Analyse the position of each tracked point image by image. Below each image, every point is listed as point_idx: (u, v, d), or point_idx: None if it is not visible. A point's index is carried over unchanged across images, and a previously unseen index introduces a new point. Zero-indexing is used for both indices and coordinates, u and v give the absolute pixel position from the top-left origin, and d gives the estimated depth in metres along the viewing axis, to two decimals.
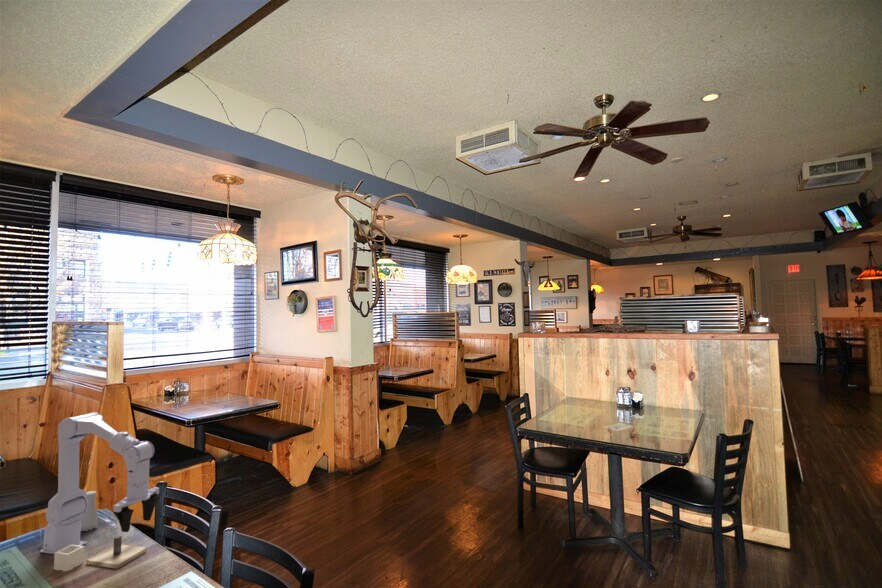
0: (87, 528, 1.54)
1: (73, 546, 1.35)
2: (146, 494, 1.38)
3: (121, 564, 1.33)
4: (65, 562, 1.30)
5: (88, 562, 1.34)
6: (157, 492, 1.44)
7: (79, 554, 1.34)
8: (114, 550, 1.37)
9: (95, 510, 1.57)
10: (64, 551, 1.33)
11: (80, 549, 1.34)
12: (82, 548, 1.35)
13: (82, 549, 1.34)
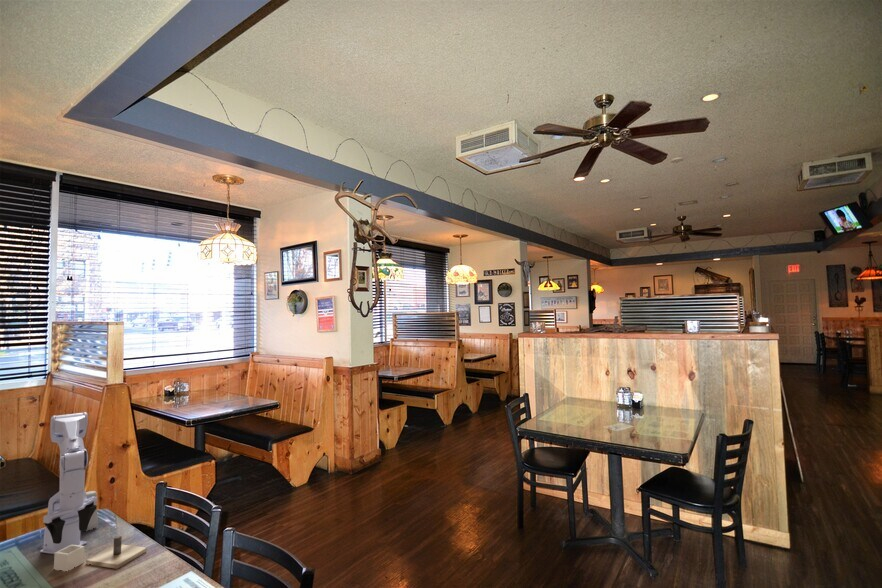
0: (87, 528, 1.54)
1: (73, 546, 1.35)
2: (80, 504, 1.34)
3: (121, 564, 1.33)
4: (65, 562, 1.30)
5: (88, 562, 1.34)
6: (95, 501, 1.40)
7: (79, 554, 1.34)
8: (114, 550, 1.37)
9: (95, 510, 1.57)
10: (64, 551, 1.33)
11: (80, 549, 1.34)
12: (82, 548, 1.35)
13: (82, 549, 1.34)
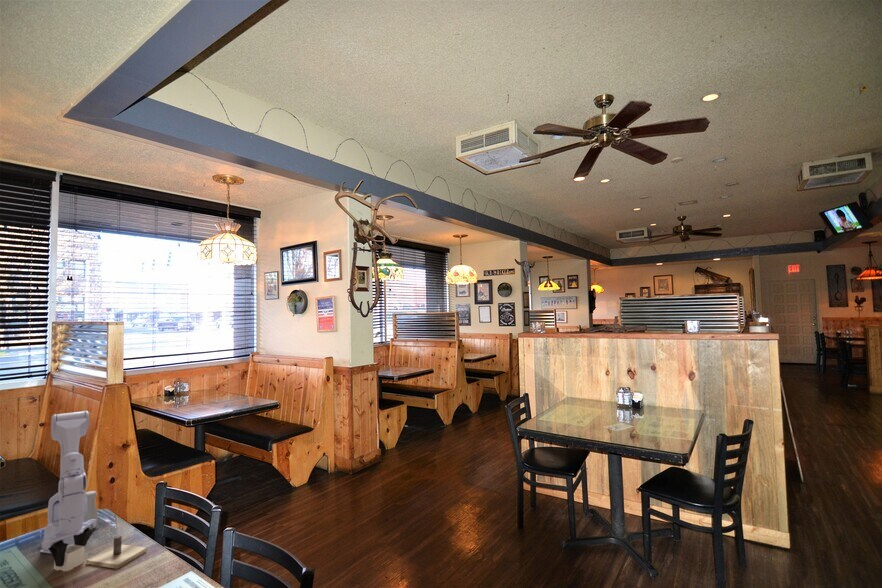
0: None
1: (73, 546, 1.35)
2: (79, 528, 1.34)
3: (121, 564, 1.33)
4: (65, 562, 1.30)
5: (88, 562, 1.34)
6: (94, 524, 1.40)
7: (79, 554, 1.34)
8: (114, 550, 1.37)
9: (95, 510, 1.57)
10: None
11: (80, 549, 1.34)
12: (82, 548, 1.35)
13: (82, 549, 1.34)
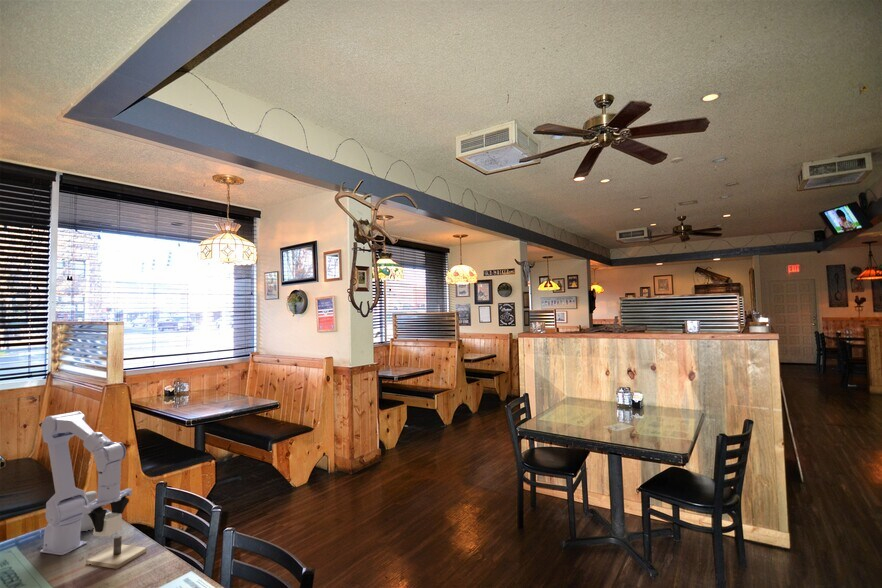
0: (87, 528, 1.54)
1: (111, 514, 1.39)
2: (117, 495, 1.38)
3: (121, 564, 1.33)
4: (104, 528, 1.34)
5: (88, 562, 1.34)
6: (130, 493, 1.44)
7: (117, 521, 1.38)
8: (114, 550, 1.37)
9: None
10: None
11: (118, 516, 1.38)
12: (120, 515, 1.38)
13: (120, 516, 1.38)
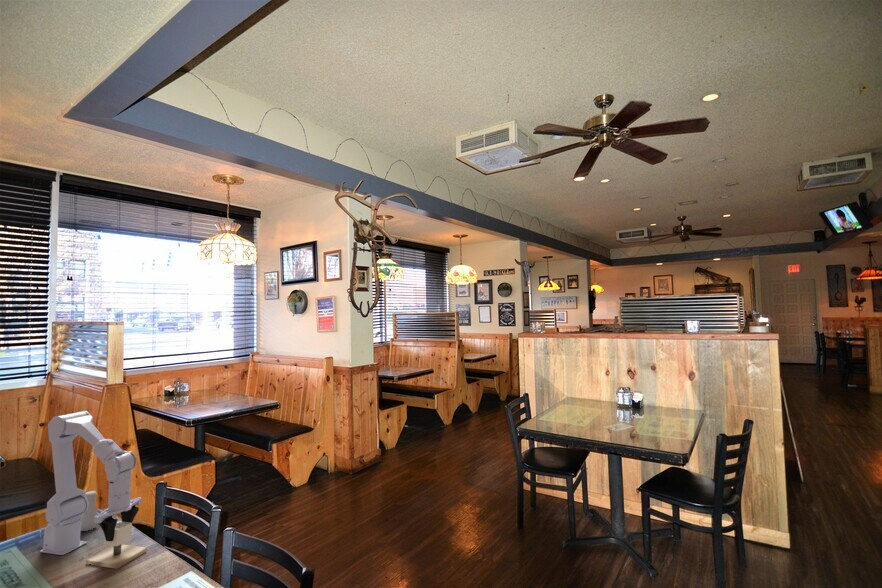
0: (87, 528, 1.54)
1: (121, 523, 1.40)
2: (127, 505, 1.39)
3: (121, 564, 1.33)
4: (115, 537, 1.35)
5: (88, 562, 1.34)
6: (139, 502, 1.45)
7: (127, 530, 1.39)
8: (114, 550, 1.37)
9: (95, 510, 1.57)
10: None
11: (128, 525, 1.39)
12: (130, 524, 1.39)
13: (130, 525, 1.39)
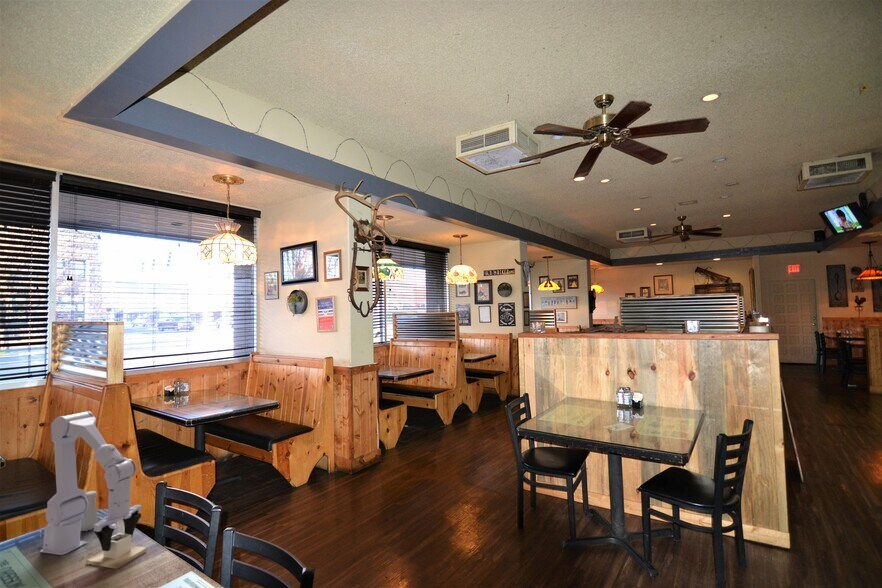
0: (87, 528, 1.54)
1: (120, 535, 1.40)
2: (127, 512, 1.38)
3: (121, 564, 1.33)
4: (114, 550, 1.35)
5: (88, 562, 1.34)
6: (139, 510, 1.44)
7: (127, 542, 1.38)
8: None
9: (95, 510, 1.57)
10: (112, 539, 1.38)
11: (127, 537, 1.39)
12: (129, 536, 1.39)
13: (129, 537, 1.39)
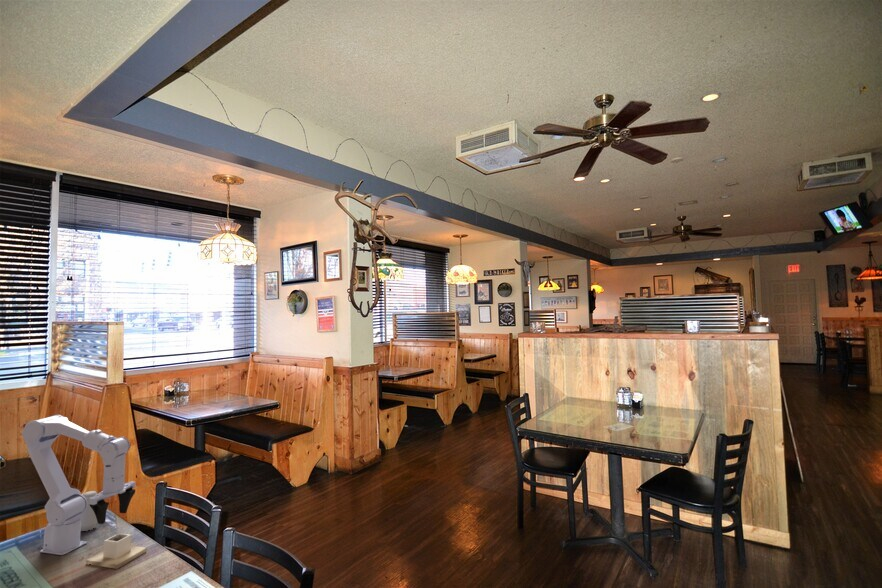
0: (87, 528, 1.54)
1: (120, 535, 1.40)
2: (122, 488, 1.44)
3: (121, 564, 1.33)
4: (114, 550, 1.35)
5: (88, 562, 1.34)
6: (133, 486, 1.50)
7: (127, 542, 1.38)
8: None
9: None
10: (112, 539, 1.38)
11: (127, 537, 1.39)
12: (129, 536, 1.39)
13: (129, 537, 1.39)
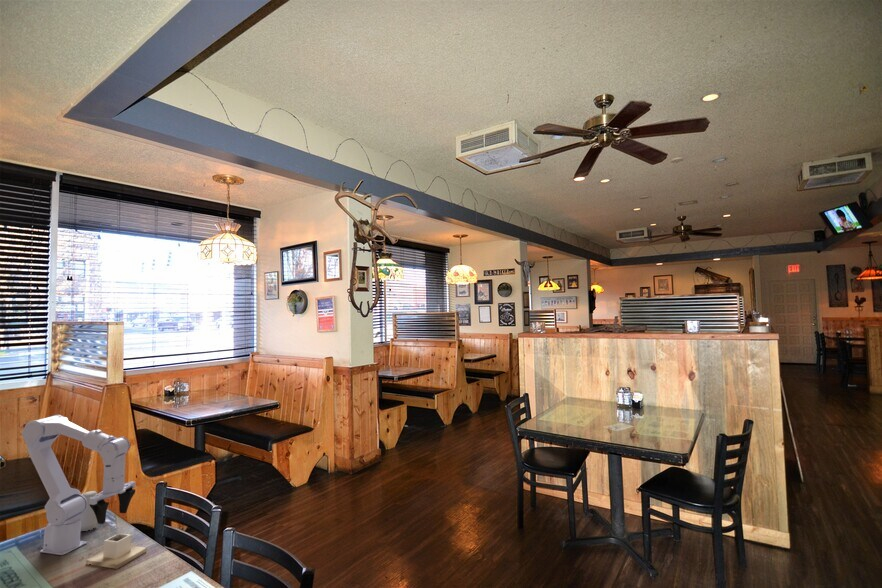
0: (87, 528, 1.54)
1: (120, 535, 1.40)
2: (122, 488, 1.44)
3: (121, 564, 1.33)
4: (114, 550, 1.35)
5: (88, 562, 1.34)
6: (133, 486, 1.50)
7: (127, 542, 1.38)
8: None
9: None
10: (112, 539, 1.38)
11: (127, 537, 1.39)
12: (129, 536, 1.39)
13: (129, 537, 1.39)
